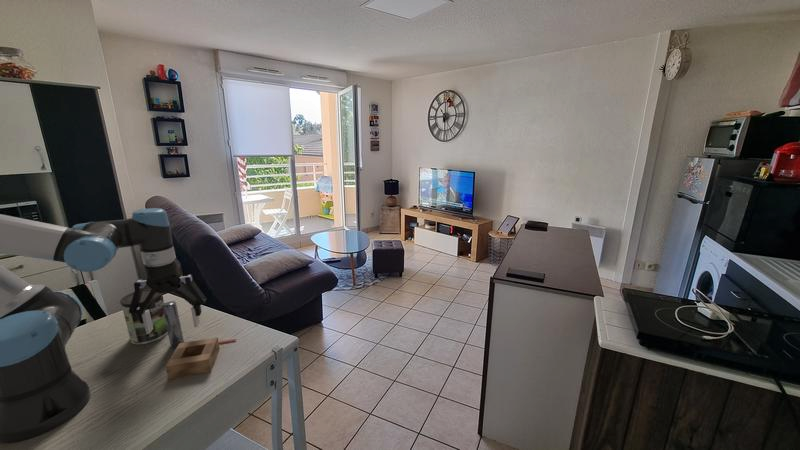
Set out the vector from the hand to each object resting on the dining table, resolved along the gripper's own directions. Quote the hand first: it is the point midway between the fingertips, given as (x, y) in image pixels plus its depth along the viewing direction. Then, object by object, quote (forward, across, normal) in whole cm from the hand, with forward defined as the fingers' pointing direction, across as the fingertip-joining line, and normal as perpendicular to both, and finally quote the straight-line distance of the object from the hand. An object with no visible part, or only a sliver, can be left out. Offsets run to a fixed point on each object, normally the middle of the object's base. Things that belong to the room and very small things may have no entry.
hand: (174, 328), depth 94 cm
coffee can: (+6, -10, +8) cm, 14 cm away
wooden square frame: (+6, +8, -11) cm, 15 cm away
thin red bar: (+6, +10, -3) cm, 12 cm away
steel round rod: (+6, 0, 0) cm, 6 cm away
